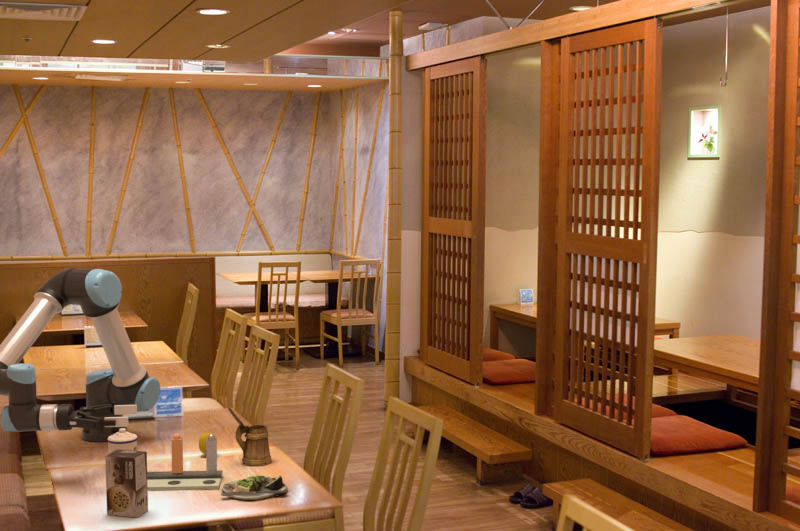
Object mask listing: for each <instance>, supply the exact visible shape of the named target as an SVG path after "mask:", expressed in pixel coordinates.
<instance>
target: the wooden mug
mask: <svg viewBox="0 0 800 531" xmlns="http://www.w3.org/2000/svg"><path fill="white" fill-rule="evenodd" d="M227 410H228V411H229V413H230V414H231V416H232V417H233V419H234V420H235V421H236V422H237V424H238V426H237V427H236V431H235V439H236V440H235V441H236V443H237V444H238V446H239V447H240V448H241V450H242V455H243V456H242V458H241V459H242V460H241V462H242V464H244V465H247V466H250V467H251V466H252V467H260V466H265V465H266V466H267V465H269V464H271V463H272V460H273V459H272V456H271V451H270V445H269V431H268V430H267V426H266V425H265V424H264V425H263V424H254V425H250V426H249V425H247V424H246V425H245V424H244V423H243V421H242V419H241V418H239V417H238V415H237V414H236V413H235V412H234V411H233V409H232V408H230V407H228V408H227ZM243 434H244V438H245V440H243V439H242V435H243Z"/></svg>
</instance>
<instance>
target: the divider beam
mask: <svg viewBox="0 0 800 531" xmlns="http://www.w3.org/2000/svg"><path fill="white" fill-rule="evenodd" d="M205 456H206V457H205V459H206V467H205V468H206V470H183V471H182V473H172V470H170V471H169V470H168V471H167V470H165V471H164V470H161V471H160V470H159V471H147V480H156V479H212V478H221V481H222V480H223V477H224V476H223V473H224V472H223V470H220V469H219V470H218V438H217V437H216V435H215V434H213V433H212V434H209V435H208V437H207V440H206V455H205Z"/></svg>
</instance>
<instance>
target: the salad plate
mask: <svg viewBox="0 0 800 531" xmlns="http://www.w3.org/2000/svg"><path fill="white" fill-rule="evenodd" d="M287 489H288V486H287V485H286V484H285V483H284V481H283V477H282V475H278V476H276V477H272V476H269V475H261V474H260V475H252V476H248V477H246V478H243V479H237V480H233V481H228V482H226V483H224V484H222V486H221V490H222V491H223V492H221V493H220V496H222V497H226V498H227V497H229V498H231V499H234V500H235V499H236V500H243V501H258V500H265V499H268V498H274V497H279V496H281V495H283V494H285V493H287V492H288V490H287ZM234 490H235V491H234Z"/></svg>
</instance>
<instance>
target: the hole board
mask: <svg viewBox="0 0 800 531" xmlns="http://www.w3.org/2000/svg"><path fill="white" fill-rule="evenodd" d="M221 483H222V480H221V478H212V479H156V480H147V488H148V491H149V492H150V490H151V492H152V491H153V492H154V491H188V490H189V491H193V490H195V491H196V490H197V491H199V490H201V491H202V490H219V489H220V486H221Z"/></svg>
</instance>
